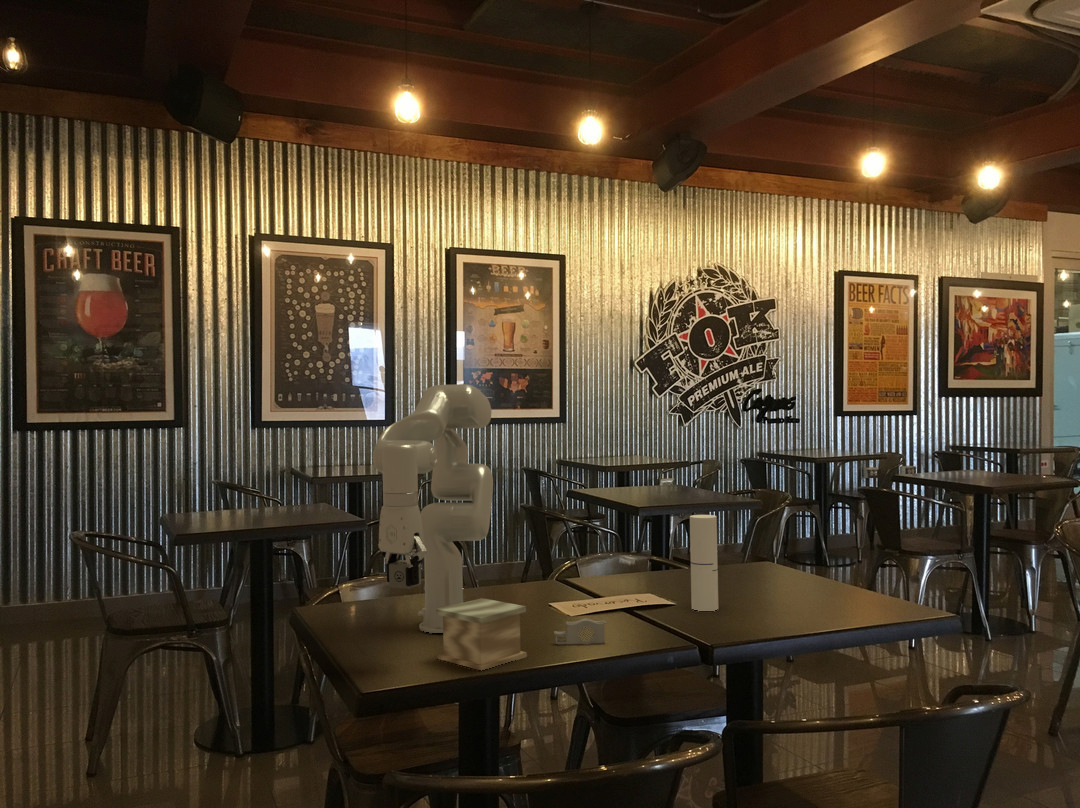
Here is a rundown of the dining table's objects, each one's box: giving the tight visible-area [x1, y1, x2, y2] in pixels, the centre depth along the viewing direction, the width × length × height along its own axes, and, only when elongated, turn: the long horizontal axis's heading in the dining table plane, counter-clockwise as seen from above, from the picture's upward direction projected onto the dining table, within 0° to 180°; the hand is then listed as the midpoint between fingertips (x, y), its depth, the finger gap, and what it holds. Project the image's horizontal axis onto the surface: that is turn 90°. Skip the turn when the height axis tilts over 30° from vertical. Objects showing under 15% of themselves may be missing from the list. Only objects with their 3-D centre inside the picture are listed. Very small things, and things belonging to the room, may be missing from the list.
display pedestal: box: [436, 597, 528, 672], centre depth 198 cm, size 14×14×11 cm
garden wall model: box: [553, 617, 607, 645], centre depth 209 cm, size 12×2×6 cm, turn 92°
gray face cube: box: [388, 559, 422, 590], centre depth 195 cm, size 5×5×5 cm
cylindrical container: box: [689, 514, 719, 612], centre depth 242 cm, size 7×7×25 cm
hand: (402, 582), depth 195 cm, fingers closed on gray face cube, 5 cm apart
